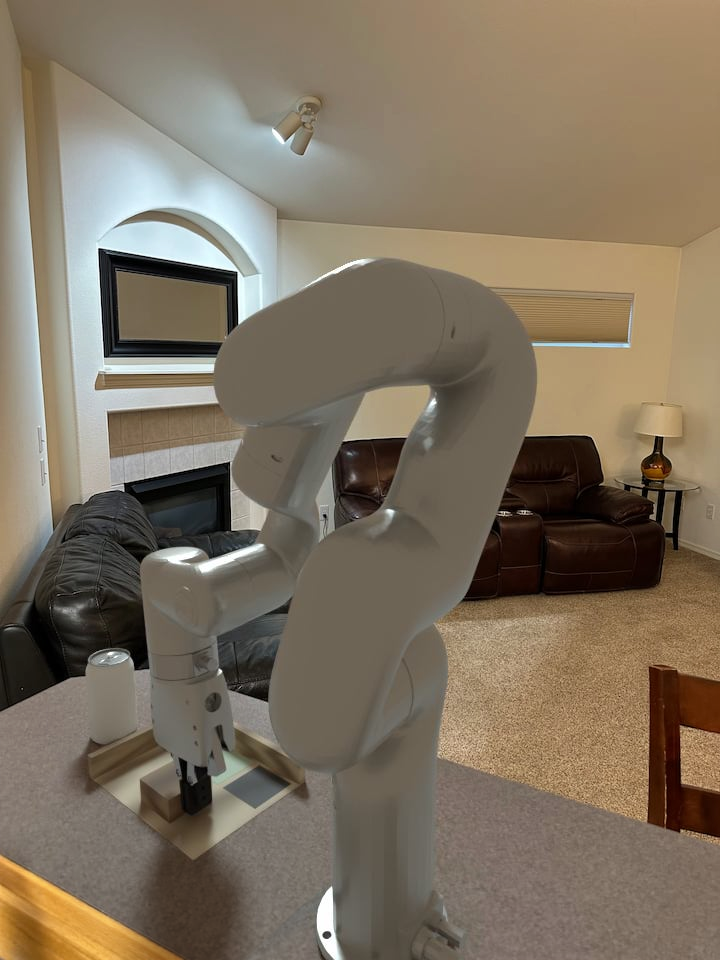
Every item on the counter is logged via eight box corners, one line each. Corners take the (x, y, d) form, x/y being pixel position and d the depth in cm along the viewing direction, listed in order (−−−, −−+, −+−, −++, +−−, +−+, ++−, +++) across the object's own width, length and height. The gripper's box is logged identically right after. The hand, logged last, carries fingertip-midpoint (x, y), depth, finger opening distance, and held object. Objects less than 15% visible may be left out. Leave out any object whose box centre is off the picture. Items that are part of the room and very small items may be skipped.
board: (305, 788, 81) (305, 759, 80) (193, 868, 68) (191, 834, 67) (199, 726, 95) (198, 701, 94) (89, 783, 82) (87, 754, 81)
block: (212, 797, 78) (211, 775, 77) (169, 823, 73) (168, 800, 73) (183, 777, 82) (182, 755, 81) (140, 801, 77) (139, 778, 77)
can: (145, 722, 96) (140, 647, 94) (125, 748, 90) (120, 668, 87) (104, 720, 97) (98, 645, 94) (81, 745, 90) (75, 666, 88)
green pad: (254, 764, 85) (254, 762, 85) (217, 786, 80) (217, 784, 80) (218, 743, 90) (218, 741, 89) (182, 763, 85) (182, 761, 85)
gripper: (253, 661, 70) (264, 814, 73) (173, 633, 80) (186, 769, 82) (196, 688, 64) (211, 853, 67) (118, 654, 74) (133, 800, 76)
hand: (197, 806), depth 75 cm, fingers closed
